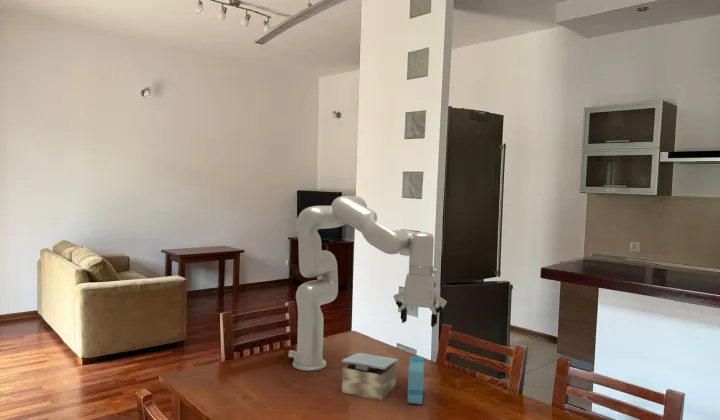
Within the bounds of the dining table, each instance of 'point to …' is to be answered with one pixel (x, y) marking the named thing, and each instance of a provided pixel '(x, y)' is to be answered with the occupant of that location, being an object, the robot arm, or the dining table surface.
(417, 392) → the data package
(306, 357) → the robot arm
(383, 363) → the box lid
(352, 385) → the open box
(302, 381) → the dining table surface
